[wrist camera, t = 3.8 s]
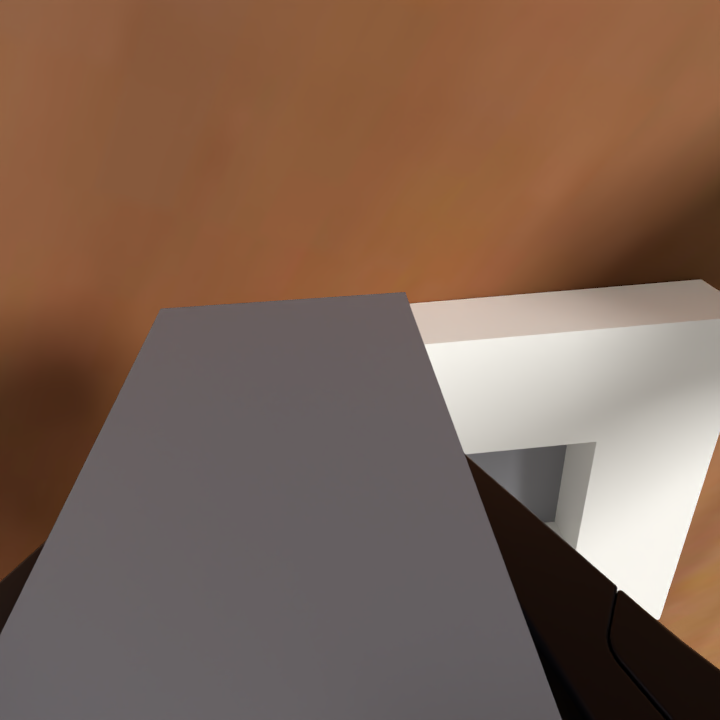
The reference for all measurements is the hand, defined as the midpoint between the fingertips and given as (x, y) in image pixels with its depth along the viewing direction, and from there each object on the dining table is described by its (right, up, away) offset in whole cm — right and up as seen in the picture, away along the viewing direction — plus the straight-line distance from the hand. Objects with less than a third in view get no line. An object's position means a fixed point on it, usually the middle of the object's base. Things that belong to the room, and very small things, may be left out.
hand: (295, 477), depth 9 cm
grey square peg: (0, +1, +2) cm, 2 cm away
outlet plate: (+6, -2, +16) cm, 17 cm away
